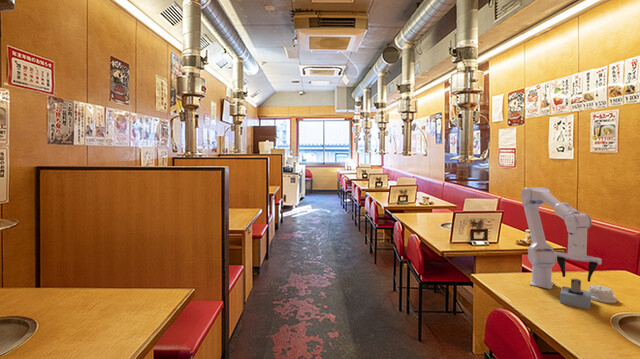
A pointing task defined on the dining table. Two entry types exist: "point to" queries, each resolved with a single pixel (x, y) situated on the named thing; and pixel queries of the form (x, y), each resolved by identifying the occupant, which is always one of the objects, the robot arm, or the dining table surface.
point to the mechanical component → (602, 294)
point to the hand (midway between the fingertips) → (576, 278)
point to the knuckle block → (575, 298)
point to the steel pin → (576, 286)
